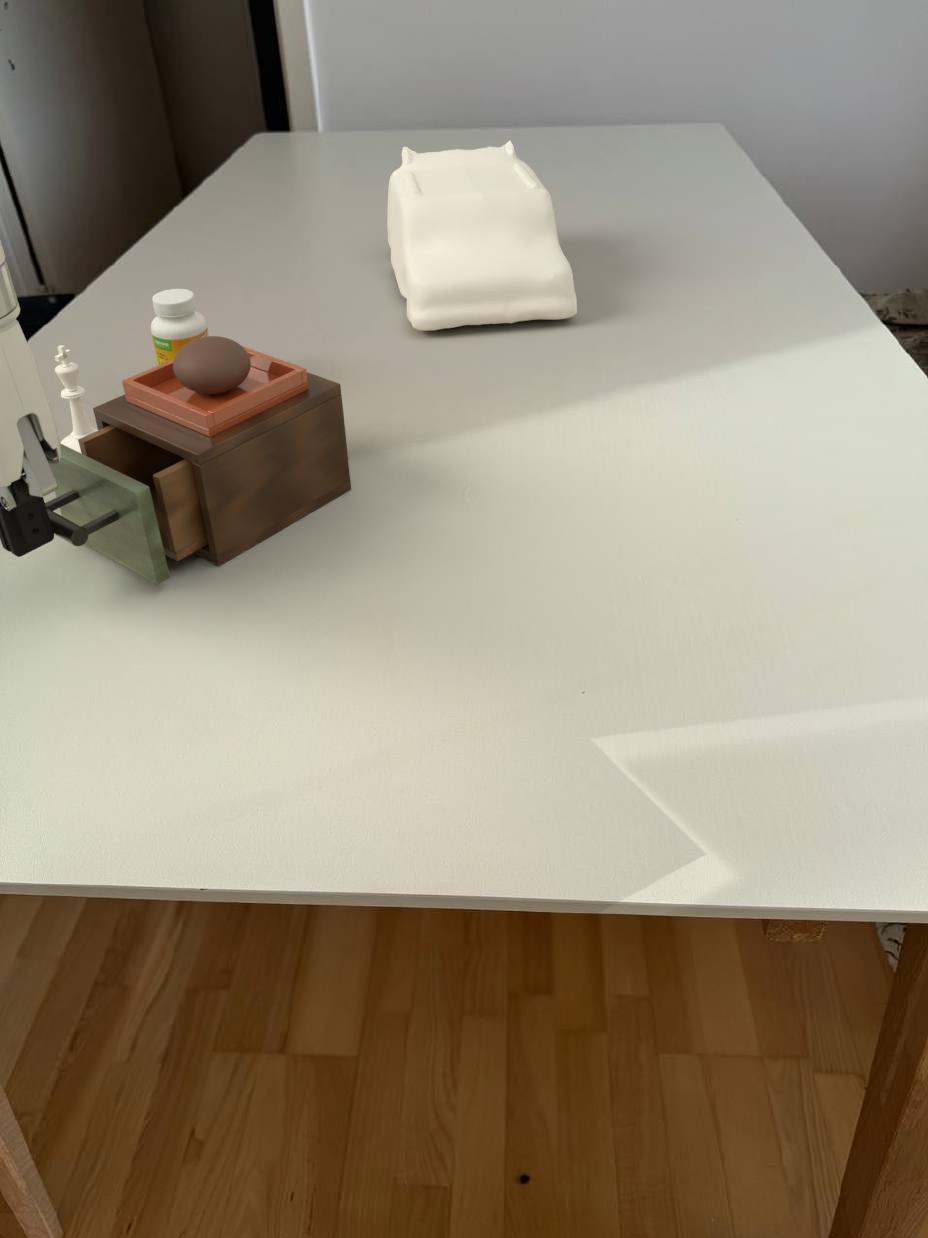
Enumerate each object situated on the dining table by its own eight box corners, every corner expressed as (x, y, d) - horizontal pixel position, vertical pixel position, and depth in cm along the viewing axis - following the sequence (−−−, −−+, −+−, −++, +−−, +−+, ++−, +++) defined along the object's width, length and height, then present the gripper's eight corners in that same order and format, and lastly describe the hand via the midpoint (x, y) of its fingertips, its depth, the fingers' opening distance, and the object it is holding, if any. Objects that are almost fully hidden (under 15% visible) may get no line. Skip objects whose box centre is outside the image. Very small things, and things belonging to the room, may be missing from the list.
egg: (265, 393, 86) (258, 344, 83) (193, 412, 83) (183, 362, 81) (237, 366, 90) (229, 319, 88) (167, 384, 88) (158, 336, 85)
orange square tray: (210, 437, 81) (206, 415, 80) (126, 401, 87) (121, 380, 86) (308, 389, 88) (306, 368, 87) (225, 358, 93) (221, 338, 92)
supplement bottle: (155, 399, 109) (135, 305, 104) (175, 376, 114) (157, 284, 108) (206, 402, 109) (189, 307, 103) (224, 378, 113) (209, 286, 107)
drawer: (110, 611, 79) (85, 518, 75) (20, 557, 85) (-9, 468, 81) (290, 508, 90) (278, 421, 85) (199, 467, 96) (183, 383, 91)
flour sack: (529, 240, 145) (529, 132, 137) (582, 326, 121) (587, 202, 113) (385, 251, 143) (377, 142, 135) (410, 341, 119) (403, 215, 111)
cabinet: (219, 566, 85) (197, 454, 79) (119, 514, 92) (92, 407, 86) (351, 489, 94) (340, 383, 88) (251, 446, 101) (235, 345, 95)
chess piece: (48, 456, 100) (19, 353, 94) (82, 432, 104) (56, 332, 98) (92, 465, 99) (65, 361, 93) (125, 440, 102) (101, 339, 96)
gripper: (-167, 289, 69) (-73, 534, 80) (-40, 345, 62) (45, 607, 73) (-58, 256, 74) (17, 491, 85) (73, 304, 66) (137, 556, 77)
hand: (30, 544), depth 79 cm, fingers closed
